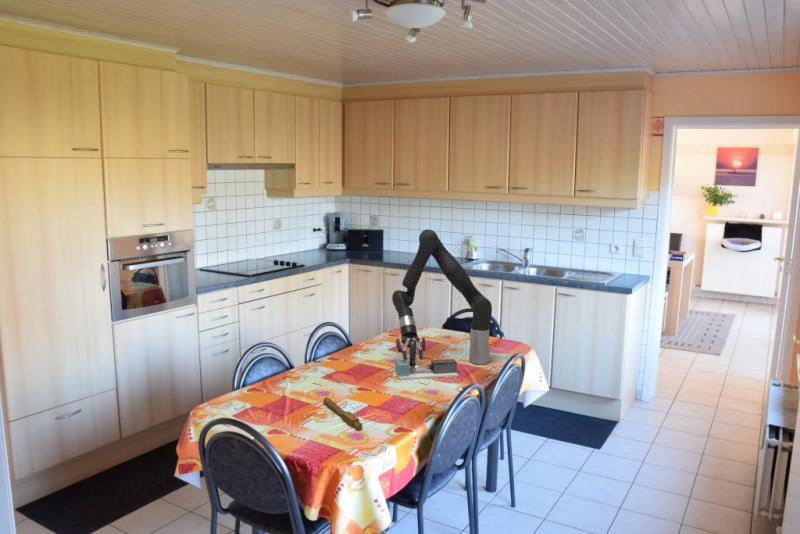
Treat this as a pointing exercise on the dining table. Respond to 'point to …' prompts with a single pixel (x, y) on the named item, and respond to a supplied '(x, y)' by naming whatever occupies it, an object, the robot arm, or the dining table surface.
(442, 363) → the outer sleeve
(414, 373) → the base board
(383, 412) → the dining table surface
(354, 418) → the brown wooden stick
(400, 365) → the socket block
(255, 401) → the dining table surface
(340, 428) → the dining table surface
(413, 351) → the slip tube
